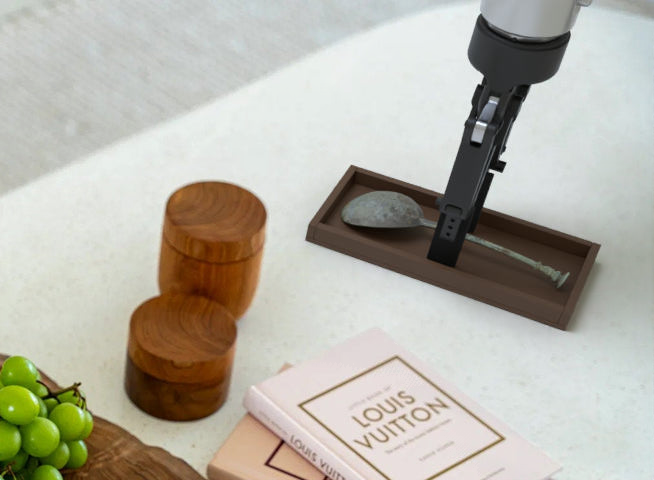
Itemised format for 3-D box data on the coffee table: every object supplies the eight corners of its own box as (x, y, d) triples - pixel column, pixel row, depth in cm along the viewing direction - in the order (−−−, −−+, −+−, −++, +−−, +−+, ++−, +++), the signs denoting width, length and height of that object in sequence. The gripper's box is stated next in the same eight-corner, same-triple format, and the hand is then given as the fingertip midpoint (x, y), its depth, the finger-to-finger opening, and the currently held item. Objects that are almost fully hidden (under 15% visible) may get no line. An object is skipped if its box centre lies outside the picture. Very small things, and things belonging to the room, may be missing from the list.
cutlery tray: (594, 260, 111) (601, 244, 109) (564, 331, 104) (572, 314, 102) (347, 180, 119) (351, 164, 118) (304, 240, 112) (308, 223, 111)
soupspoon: (356, 196, 118) (329, 231, 114) (361, 169, 115) (333, 204, 112) (574, 269, 109) (551, 309, 105) (584, 241, 106) (562, 282, 103)
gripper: (542, 86, 87) (460, 311, 104) (598, -14, 98) (515, 205, 115) (446, 59, 90) (381, 283, 107) (510, -35, 101) (442, 182, 118)
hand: (451, 242), depth 111 cm, fingers open, 5 cm apart
